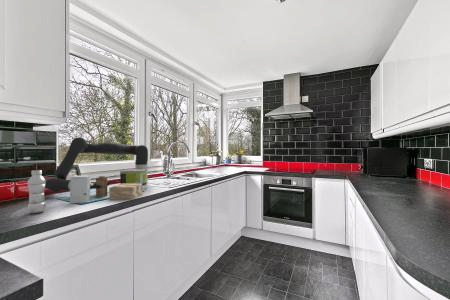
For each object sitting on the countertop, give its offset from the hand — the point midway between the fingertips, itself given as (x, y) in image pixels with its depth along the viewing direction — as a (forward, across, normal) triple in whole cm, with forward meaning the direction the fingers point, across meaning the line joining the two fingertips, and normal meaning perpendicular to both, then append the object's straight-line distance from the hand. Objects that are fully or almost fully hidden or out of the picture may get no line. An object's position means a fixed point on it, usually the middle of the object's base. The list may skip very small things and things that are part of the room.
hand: (104, 185), depth 129 cm
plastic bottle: (-12, -33, +7) cm, 36 cm away
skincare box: (-6, -13, +7) cm, 16 cm away
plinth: (+14, 0, +7) cm, 16 cm away
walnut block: (-2, 0, +7) cm, 7 cm away
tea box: (+9, +20, +7) cm, 23 cm away
